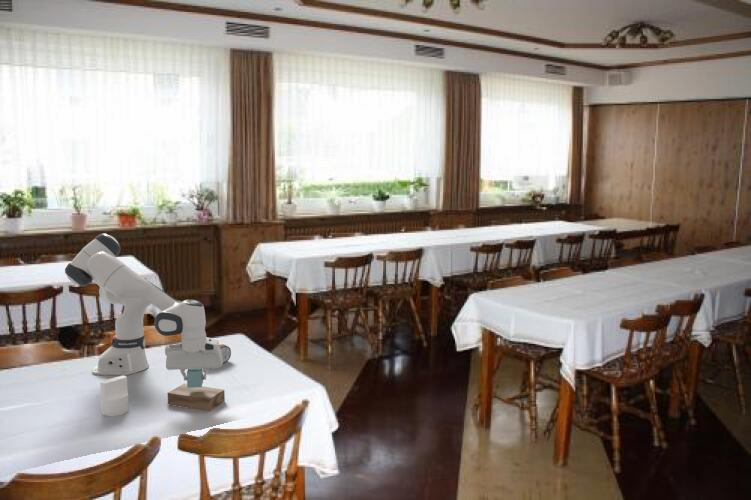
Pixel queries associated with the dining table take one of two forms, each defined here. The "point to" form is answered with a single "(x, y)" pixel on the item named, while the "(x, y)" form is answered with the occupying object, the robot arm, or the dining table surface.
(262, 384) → the dining table surface
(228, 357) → the tin
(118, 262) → the robot arm
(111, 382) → the cylinder with rectangular tab
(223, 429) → the dining table surface
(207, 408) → the walnut block
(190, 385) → the teal cube
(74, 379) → the dining table surface
